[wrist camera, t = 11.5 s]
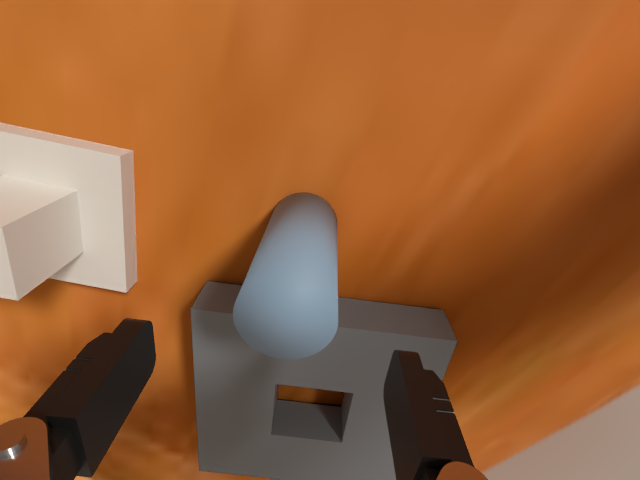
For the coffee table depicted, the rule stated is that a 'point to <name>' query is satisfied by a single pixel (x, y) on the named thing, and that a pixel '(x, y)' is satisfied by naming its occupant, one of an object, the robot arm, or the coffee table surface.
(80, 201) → the lid
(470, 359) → the coffee table surface
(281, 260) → the peg
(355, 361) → the socket plate
